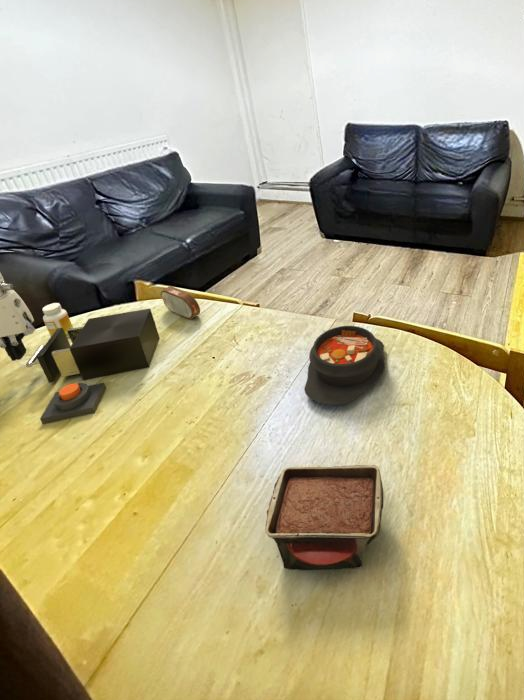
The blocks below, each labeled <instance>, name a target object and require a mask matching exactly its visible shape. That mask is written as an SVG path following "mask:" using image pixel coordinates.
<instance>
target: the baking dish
mask: <svg viewBox="0 0 524 700" xmlns="http://www.w3.org/2000/svg"><path fill="white" fill-rule="evenodd" d="M381 475H382V474H381V470H380V469H379V467H378V466H377V465H374V464H373V465H367V464H366V465H365V464H364V465H363V464H362V465H361V464H359V465H357V464H356V465H334V466H333V465H332V466H289V467H288V466H287V467H285V468H284V469H283V470H282V471H281V473H280V474H279V476H278V477H277V479H276V482H275V483H274V486H273V491H272V495H271V497H270V501H269V505H268V508H267V510H266V522H265V528H264V529H265V534H266V536H267V537H268V538H271V539H273V541H274V542H275V543H276V546H277V548H278V552H279V554H280V558H281V560H282V561H281V562H282V563H283V569H288V570H294V569H299V570H298V571H326V570H327V571H328V570H329V571H330V570H331V571H332V570H333V571H334V570H347V569H348V570H349V569H358V568H362V567H363V562H362V558H363V554H364V552H365V549H366V547H368V546H369V544H371V543H372V542H373V540H375V539H376V538H377V537H378V535H379V534H380V532H381V526H382V525H381V524H382V515H383V514H382V513H383V509H384V486H383V480H382V476H381Z"/></svg>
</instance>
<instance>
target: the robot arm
mask: <svg viewBox="0 0 524 700" xmlns="http://www.w3.org/2000/svg"><path fill="white" fill-rule="evenodd" d="M34 322H35V319H34V317H33V315H32V312H31V311H30V309H29V307H28V306H27V304H26V302H25V301H24V300H23V299H22V298H21V296H20V295H19V294H18V293H17V291H16V290H14V284H13V283H7V282H6V279H4V277H3V275H2V272H0V348H1V349H4V350H5V352H6V355H7V356H8V357H9V358H10V360H11V361H12V362H15V361H19V360H21V359H22V358H23V357H24V356H25V355H26V353H27V348H26V346H25V345H24V342H23V339H24V338H25V337H27V336H30V335H32V334H34V332H35V331H36V328H35V326H33V323H34Z"/></svg>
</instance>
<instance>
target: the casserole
mask: <svg viewBox="0 0 524 700" xmlns="http://www.w3.org/2000/svg"><path fill="white" fill-rule="evenodd" d="M384 350H385V344H384V342H382V341H381V340H380V339H379V338H376V337H375V335H374V334H373V332H371V331H370V330H368V329H366V328H365V327H361V326H356V325H342V326H341V325H340V326H337V327H336V326H335V327H332V328H330V329H328V330H326V331H324V332H323V333H321V334H320V335H319V336H317V338H315V340H314V342H313V345H312V346H311V348H310V351H309V355H308V356H309V357H308V358H309V364H308V368H307V379H306V382H305V385H304V389H303V390H304V393H305V395H306V396H307V397H308V398H309V399H311V400H313V401H314V402H316V403H319V404H321V405H327V406H344V405H346V404H350V403H351V402H352V401H354V400H355V399H357V397H358V396H359V395H360V394H361V393H363V392H364V391H366V390H367V389H368V390H369V388H371V387H373V386H374V385H375V384H376V383H377V382H378V381H379V380H380V379H381V377H383V375H384V372H385V369H386V361H385V356H384Z"/></svg>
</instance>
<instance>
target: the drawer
mask: <svg viewBox="0 0 524 700" xmlns="http://www.w3.org/2000/svg"><path fill="white" fill-rule="evenodd" d="M83 327H84V325H83V326H78V327H73V328H71V329H68V330H67V332H68V334H69V337H68V338H69V339H70V341H71V343H72V344H73V342H74V341H75V339H76V338H77V336H78V334H79V333H80V331H81V330H82V328H83ZM68 338H67V336H66V334H65V332H64V329H63V328H58V329H57V330H56V331H55V333H54V334H53V335H52V337H51V336H50V338H49V339H48V341H47V342H46V343H45V345H39V346H38V347H37V348H36V350H35V351H34V352H33V354H32V355H31V356H30V358H29V359H28V361H27V362H26V363H25V367H26V368H29V369H31V368H32V367H33V366H35V365H36V366H37V365H40V367H41V369H42V371H43V374H44V375H45V378H46V380H47V382H48V383H49V384H50V383H54V382H55V381H56V380H57V379H58V377H59V375H61V378H63V377H64V378H65V377H69V376H74V375H79V374H80V372H79V370H78V367H77V365H76V363H75V360H74V358H73V356H72V354H71V351H70V349H69V348H70V347H71V345H72V344H70V341H69V339H68ZM80 375H81V374H80Z"/></svg>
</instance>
